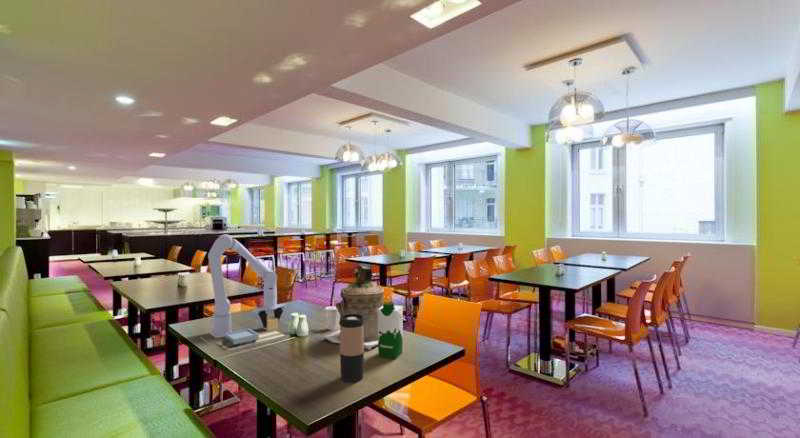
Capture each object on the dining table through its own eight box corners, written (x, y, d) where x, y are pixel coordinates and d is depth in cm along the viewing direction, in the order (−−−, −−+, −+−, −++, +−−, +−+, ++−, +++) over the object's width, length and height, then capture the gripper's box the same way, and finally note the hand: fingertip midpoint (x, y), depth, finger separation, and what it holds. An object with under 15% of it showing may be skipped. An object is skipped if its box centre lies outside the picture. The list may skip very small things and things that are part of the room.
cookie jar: (400, 334, 173) (400, 261, 173) (370, 351, 152) (369, 269, 151) (355, 326, 185) (354, 258, 185) (320, 341, 164) (319, 265, 163)
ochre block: (263, 329, 181) (263, 318, 181) (273, 326, 184) (273, 316, 184) (267, 331, 177) (267, 320, 177) (278, 329, 181) (278, 318, 181)
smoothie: (336, 331, 177) (336, 300, 177) (323, 330, 179) (322, 299, 178) (341, 327, 184) (341, 297, 183) (328, 326, 185) (328, 296, 185)
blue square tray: (225, 341, 162) (224, 333, 162) (249, 336, 169) (248, 328, 169) (233, 347, 155) (233, 339, 155) (258, 341, 162) (258, 333, 162)
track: (216, 343, 161) (216, 337, 161) (274, 330, 178) (274, 325, 178) (227, 351, 152) (227, 345, 152) (287, 337, 169) (287, 332, 169)
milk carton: (375, 357, 146) (375, 303, 145) (384, 349, 154) (384, 298, 154) (397, 360, 143) (397, 305, 142) (405, 351, 151) (405, 300, 151)
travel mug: (340, 373, 131) (340, 314, 131) (363, 372, 132) (363, 313, 131) (339, 383, 124) (339, 320, 123) (363, 382, 124) (363, 319, 124)
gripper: (258, 300, 173) (258, 331, 173) (289, 295, 183) (289, 324, 183) (252, 298, 178) (252, 327, 178) (282, 293, 188) (282, 321, 188)
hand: (270, 326), depth 181 cm, fingers closed on ochre block, 5 cm apart
